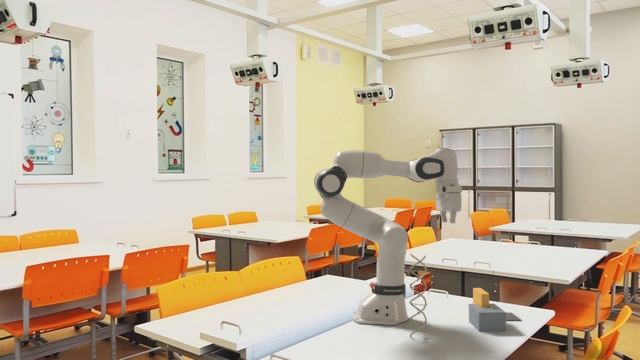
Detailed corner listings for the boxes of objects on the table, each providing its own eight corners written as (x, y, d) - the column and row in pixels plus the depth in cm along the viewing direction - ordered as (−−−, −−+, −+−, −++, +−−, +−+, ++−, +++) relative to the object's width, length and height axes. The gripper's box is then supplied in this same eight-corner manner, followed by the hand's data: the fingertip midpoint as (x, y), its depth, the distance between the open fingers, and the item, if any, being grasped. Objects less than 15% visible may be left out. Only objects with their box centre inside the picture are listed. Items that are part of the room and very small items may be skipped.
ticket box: (479, 331, 192) (479, 312, 192) (468, 321, 204) (468, 303, 204) (505, 330, 192) (505, 312, 192) (493, 320, 205) (493, 303, 204)
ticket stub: (481, 325, 199) (481, 294, 199) (473, 317, 209) (473, 287, 209) (489, 324, 200) (489, 294, 199) (480, 317, 210) (480, 287, 209)
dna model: (406, 339, 184) (406, 255, 183) (412, 333, 190) (411, 252, 189) (424, 342, 181) (424, 256, 180) (429, 336, 186) (429, 253, 186)
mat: (496, 321, 204) (496, 320, 204) (487, 313, 214) (487, 312, 214) (521, 320, 204) (521, 319, 204) (511, 313, 214) (511, 312, 214)
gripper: (431, 189, 219) (432, 222, 218) (448, 188, 198) (449, 224, 198) (446, 188, 219) (447, 221, 219) (464, 187, 199) (465, 223, 198)
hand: (448, 222), depth 208 cm, fingers open, 8 cm apart
